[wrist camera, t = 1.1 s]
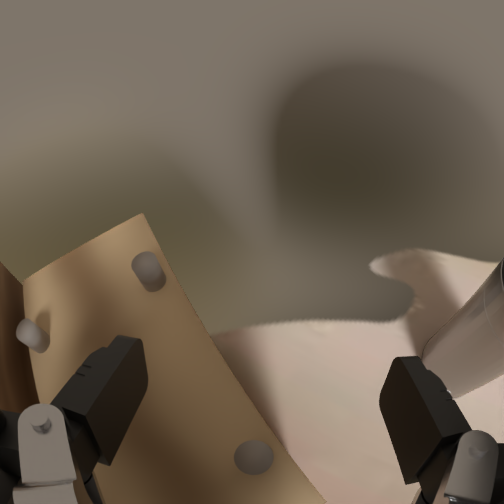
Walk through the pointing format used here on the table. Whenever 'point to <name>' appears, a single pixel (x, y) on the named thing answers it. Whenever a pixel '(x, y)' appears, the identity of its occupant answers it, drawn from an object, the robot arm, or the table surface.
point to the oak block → (156, 378)
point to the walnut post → (14, 349)
